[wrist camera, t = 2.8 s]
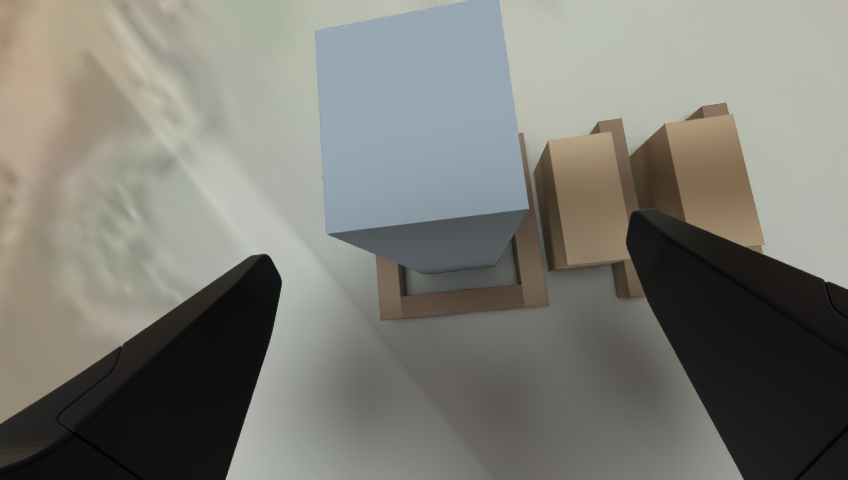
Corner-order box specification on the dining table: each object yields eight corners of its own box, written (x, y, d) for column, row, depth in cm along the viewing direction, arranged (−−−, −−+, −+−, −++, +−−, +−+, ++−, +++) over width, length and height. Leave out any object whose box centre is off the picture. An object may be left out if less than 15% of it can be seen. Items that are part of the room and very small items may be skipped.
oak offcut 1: (599, 266, 18) (634, 258, 14) (548, 271, 18) (567, 264, 14) (582, 166, 19) (611, 131, 15) (533, 172, 19) (548, 140, 15)
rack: (744, 285, 17) (770, 284, 15) (388, 318, 19) (380, 320, 17) (705, 118, 18) (726, 102, 17) (376, 166, 20) (368, 155, 19)
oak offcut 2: (699, 256, 17) (764, 244, 13) (644, 262, 18) (692, 252, 14) (677, 153, 18) (732, 113, 14) (625, 160, 18) (665, 123, 14)
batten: (494, 266, 18) (528, 208, 6) (424, 274, 19) (325, 233, 7) (484, 188, 19) (498, -5, 7) (416, 197, 20) (315, 30, 7)
